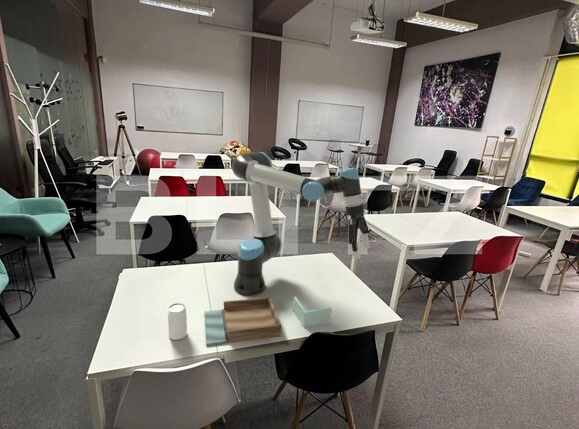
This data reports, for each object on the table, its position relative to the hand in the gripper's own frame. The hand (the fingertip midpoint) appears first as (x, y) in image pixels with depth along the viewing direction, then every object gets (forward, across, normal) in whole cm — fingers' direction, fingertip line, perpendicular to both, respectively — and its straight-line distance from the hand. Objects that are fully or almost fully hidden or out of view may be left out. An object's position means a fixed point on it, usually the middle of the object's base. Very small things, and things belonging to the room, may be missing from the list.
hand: (362, 252), depth 138 cm
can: (+11, -57, +56) cm, 81 cm away
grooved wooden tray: (+16, -39, +41) cm, 59 cm away
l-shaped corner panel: (+23, -18, +21) cm, 36 cm away
